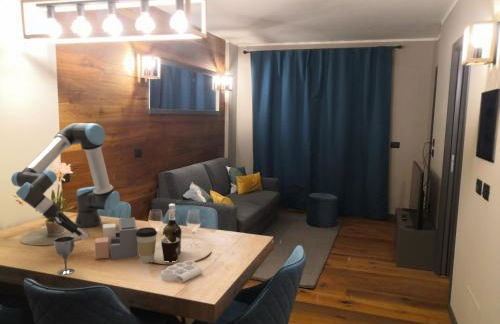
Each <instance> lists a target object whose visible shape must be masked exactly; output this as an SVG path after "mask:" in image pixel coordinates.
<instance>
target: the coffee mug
mask: <svg viewBox="0 0 500 324" xmlns="http://www.w3.org/2000/svg"><path fill="white" fill-rule="evenodd" d="M167 238H168V237H164V238H162V239H160V240H161V241H160V242H161V250H162V256H163V261H169V262H172V261H176V260H177V259H178V260H179V258H178V256H179V249H180V248H179V247H180V237H176V241H175V242H173V243H168V241H167ZM178 260H177V261H178ZM177 261H176V262H177Z"/></svg>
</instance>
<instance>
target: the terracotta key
mask: <svg viewBox="0 0 500 324" xmlns="http://www.w3.org/2000/svg"><path fill="white" fill-rule="evenodd" d="M94 239H95V240H94V253H95V254H94V256H95V259H94V260H98V259H106V258H107V259H108V258H110V251H109V240H108V237H105V238H103V237H97V238H96V237H95V238H94Z"/></svg>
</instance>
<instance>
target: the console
mask: <svg viewBox="0 0 500 324" xmlns="http://www.w3.org/2000/svg"><path fill="white" fill-rule="evenodd" d="M118 226H119V229H118V231H116V238H111V254H110V255H111V260H122V259H132V258H138V256H139V255H138V254H139V251H138V244H137V236H136V232H137V230H138V229H137V228H138V227H137V222H136V218H135V217H133V216H132V217H122V218H118Z"/></svg>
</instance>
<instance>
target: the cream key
mask: <svg viewBox="0 0 500 324" xmlns="http://www.w3.org/2000/svg"><path fill="white" fill-rule="evenodd" d="M116 232H117V230H116V223H105V224H104V223H103V224H102V238H105V237H108V240H109V252H110V251H111V238H116Z"/></svg>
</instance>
